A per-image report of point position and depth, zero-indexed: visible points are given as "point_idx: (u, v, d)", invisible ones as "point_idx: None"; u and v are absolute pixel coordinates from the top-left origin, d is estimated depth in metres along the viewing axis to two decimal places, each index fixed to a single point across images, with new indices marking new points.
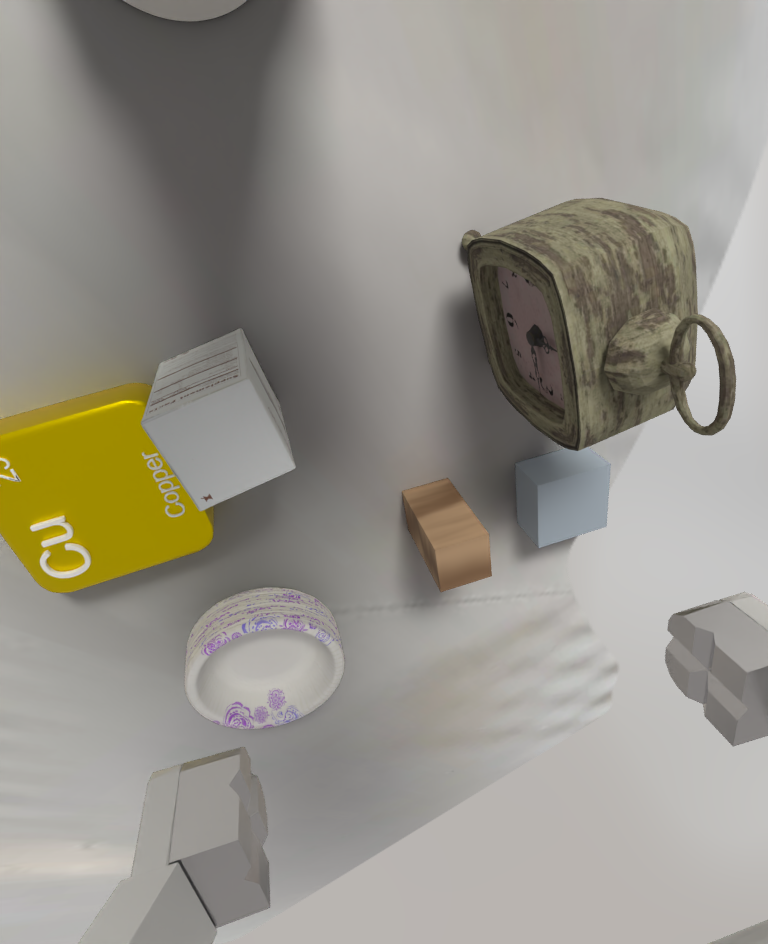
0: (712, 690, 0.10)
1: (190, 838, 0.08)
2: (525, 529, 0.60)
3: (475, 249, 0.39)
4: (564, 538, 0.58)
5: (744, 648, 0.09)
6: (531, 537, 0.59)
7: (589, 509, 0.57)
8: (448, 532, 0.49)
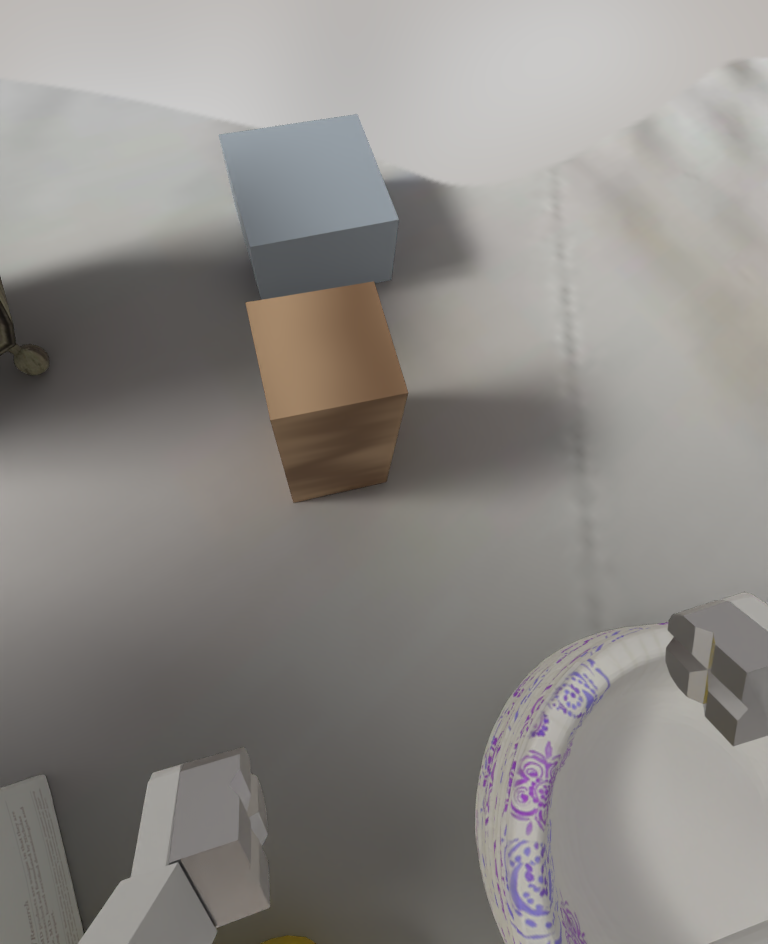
0: (712, 690, 0.10)
1: (190, 838, 0.08)
2: (386, 259, 0.32)
3: None
4: (378, 178, 0.30)
5: (744, 648, 0.09)
6: (390, 241, 0.30)
7: (315, 149, 0.30)
8: None
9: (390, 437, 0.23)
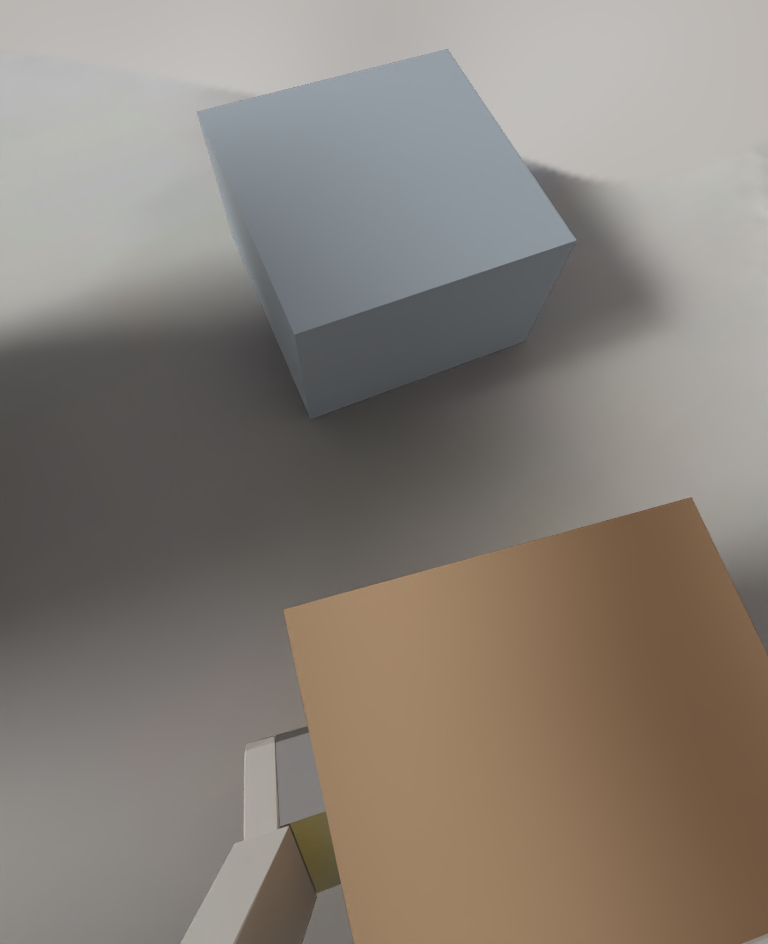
0: None
1: (297, 803, 0.08)
2: (530, 311, 0.17)
3: None
4: (517, 163, 0.15)
5: None
6: (547, 281, 0.16)
7: (385, 120, 0.16)
8: None
9: None
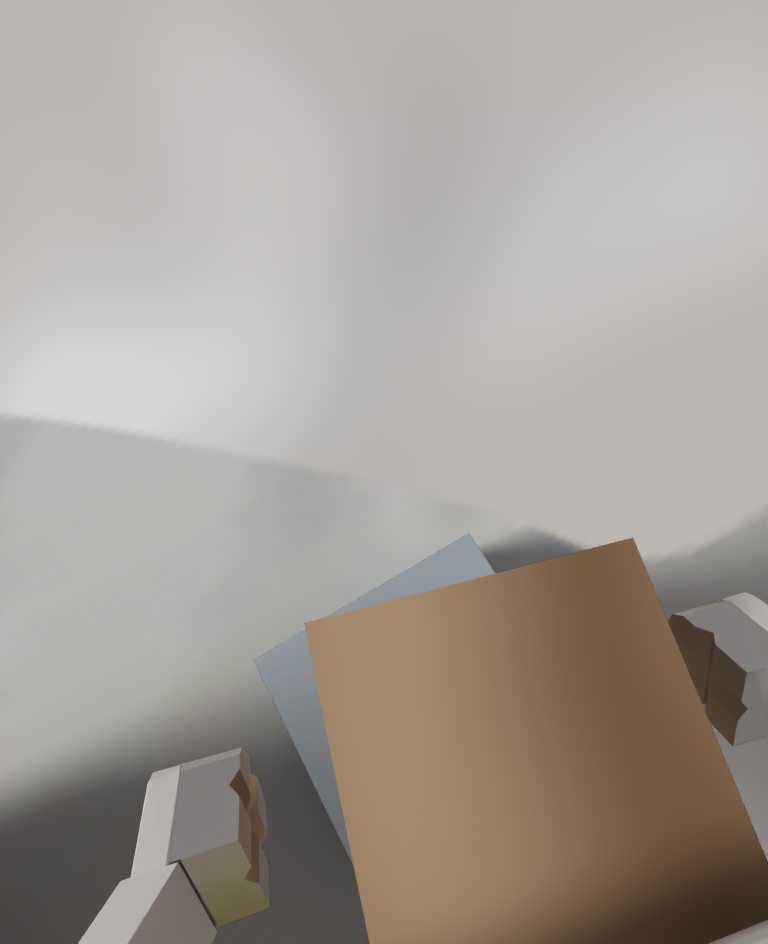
0: (712, 690, 0.10)
1: (191, 838, 0.08)
2: None
3: None
4: None
5: (744, 648, 0.09)
6: None
7: None
8: None
9: None
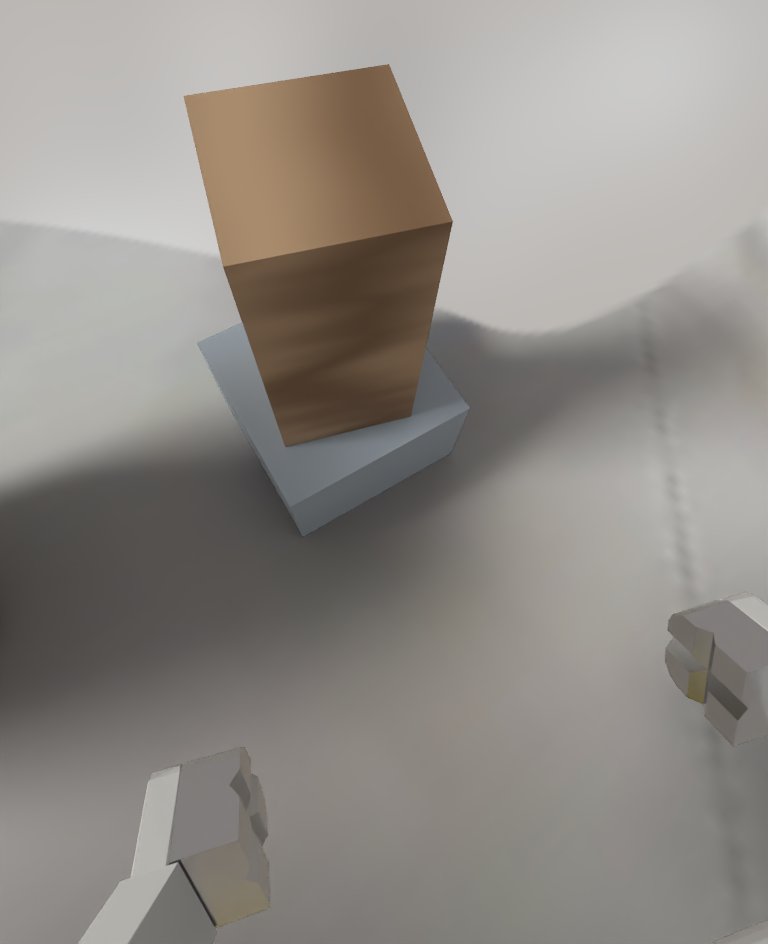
0: (712, 690, 0.10)
1: (191, 838, 0.08)
2: (449, 441, 0.24)
3: None
4: None
5: (744, 648, 0.09)
6: (456, 427, 0.23)
7: None
8: None
9: (419, 327, 0.15)
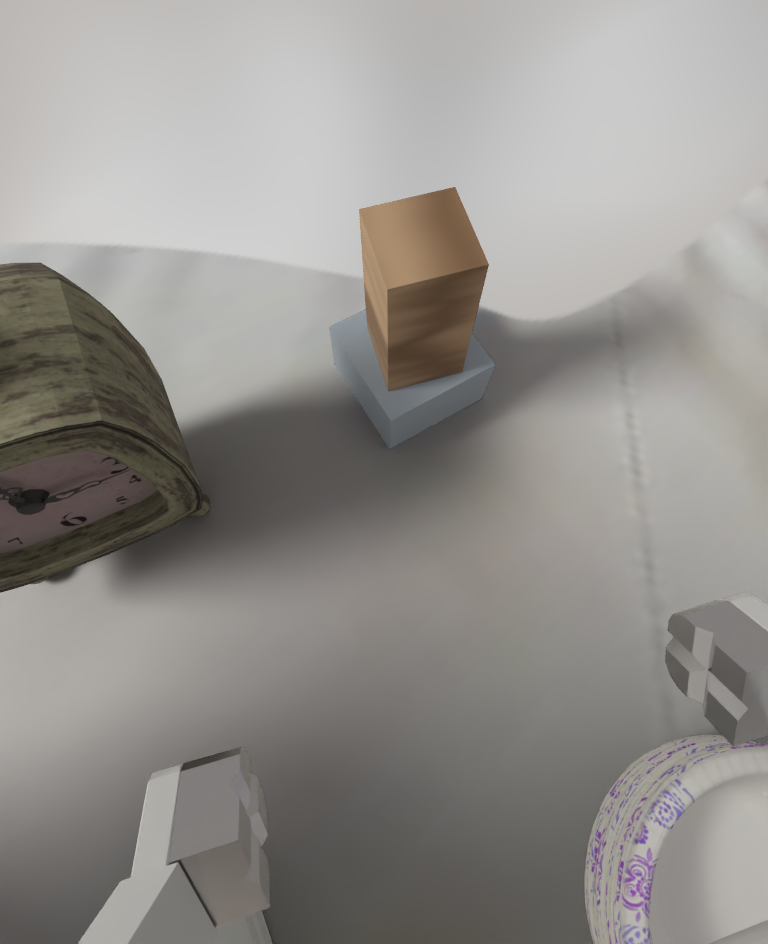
0: (712, 690, 0.10)
1: (190, 839, 0.08)
2: (482, 388, 0.38)
3: None
4: None
5: (744, 648, 0.09)
6: (487, 378, 0.37)
7: None
8: (376, 281, 0.28)
9: (470, 315, 0.29)
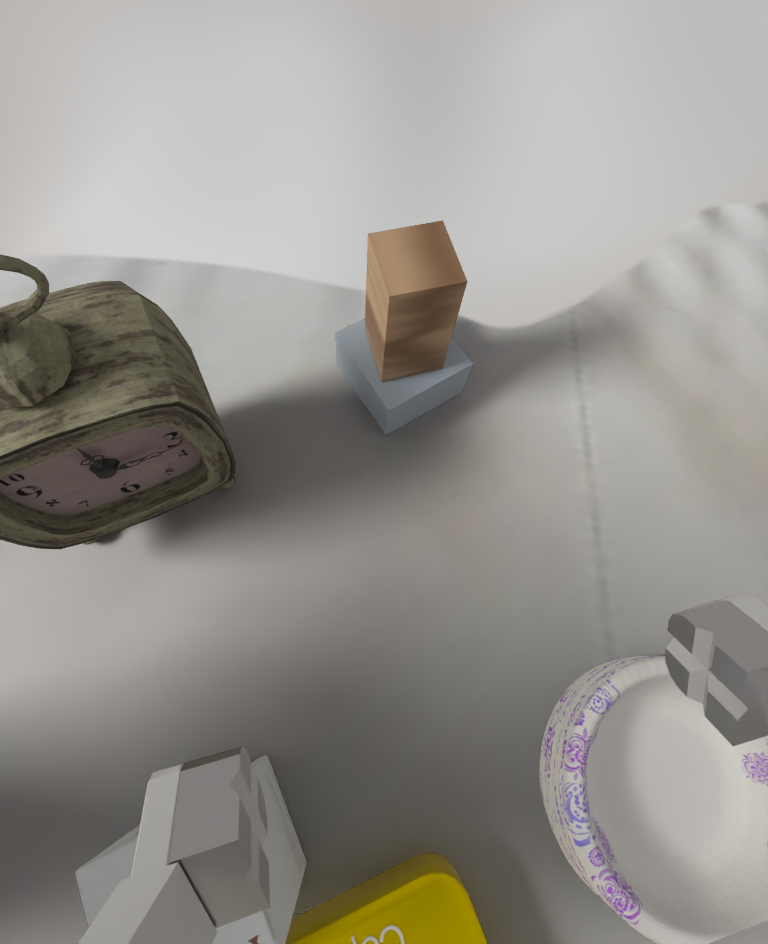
0: (712, 690, 0.10)
1: (190, 839, 0.08)
2: (462, 383, 0.46)
3: (48, 543, 0.36)
4: None
5: (744, 648, 0.09)
6: (466, 374, 0.45)
7: None
8: (379, 290, 0.35)
9: (451, 321, 0.37)
